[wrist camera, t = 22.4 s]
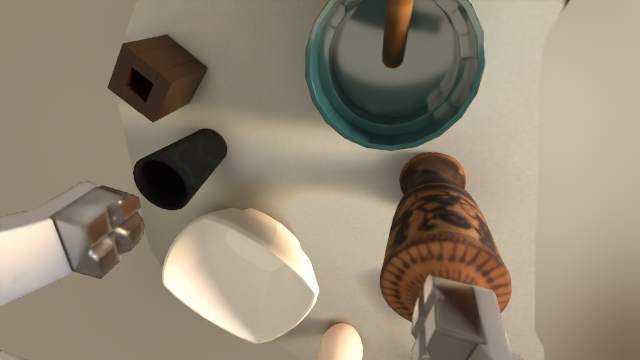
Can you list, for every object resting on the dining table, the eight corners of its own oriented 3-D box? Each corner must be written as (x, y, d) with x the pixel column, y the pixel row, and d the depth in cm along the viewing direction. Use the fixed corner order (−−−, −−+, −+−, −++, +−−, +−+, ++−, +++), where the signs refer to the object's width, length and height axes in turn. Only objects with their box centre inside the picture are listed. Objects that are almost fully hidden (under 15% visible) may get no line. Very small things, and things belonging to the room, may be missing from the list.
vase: (402, 134, 43) (388, 345, 18) (488, 153, 42) (604, 410, 16) (383, 202, 49) (351, 433, 24) (458, 220, 47) (509, 487, 22)
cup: (178, 134, 51) (121, 171, 41) (212, 113, 48) (159, 147, 38) (208, 174, 54) (162, 218, 44) (243, 156, 51) (200, 199, 41)
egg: (318, 314, 65) (302, 371, 56) (356, 310, 62) (345, 369, 52) (335, 341, 68) (322, 399, 59) (371, 338, 65) (364, 399, 55)
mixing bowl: (294, 66, 42) (274, 79, 36) (390, -71, 33) (385, -83, 27) (394, 152, 45) (391, 178, 39) (508, 47, 36) (527, 60, 30)
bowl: (187, 236, 63) (146, 283, 53) (237, 157, 51) (196, 198, 41) (283, 300, 66) (260, 355, 56) (351, 239, 54) (337, 295, 44)
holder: (150, 73, 47) (107, 87, 41) (167, 34, 44) (122, 43, 37) (188, 103, 48) (152, 122, 42) (208, 68, 45) (172, 82, 38)
